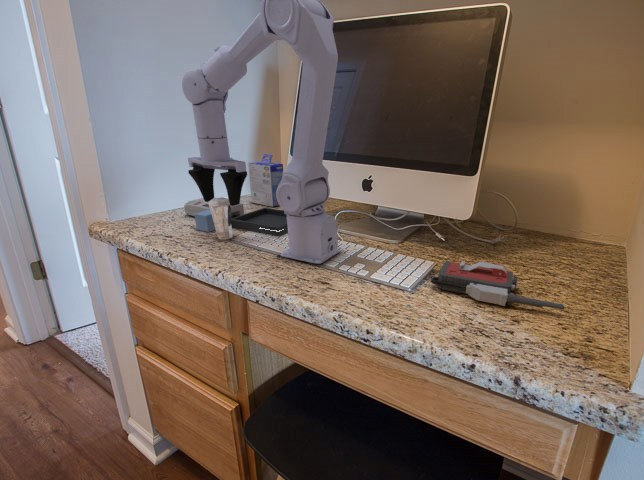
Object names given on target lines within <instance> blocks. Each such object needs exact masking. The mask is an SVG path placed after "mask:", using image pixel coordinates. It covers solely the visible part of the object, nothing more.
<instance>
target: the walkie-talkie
mask: <svg viewBox="0 0 644 480" xmlns="http://www.w3.org/2000/svg"><path fill="white" fill-rule="evenodd" d="M430 283H431V284H432V285H435V286H437V288H438V289H440V290H442V291H446V292H447V291H448V292H453V293H458V294H462V295H463V294H464V295H468V296H469V297H471V298H472V299H474V300H476V301H478V302H484V303H488V304H489V303H490V304H495V305H498V306H502V307H506V303H510V304H520V305H525V306H530V307H536V308H543V307H546V308H550V309H551V308H552V309H558V310H562V311H564V310H565V309H566V307H565V305H564V304H562V303H558V302H553V301H552V302H551V301H546V300H541V299H535V298H529V297H524V296H519V295H516V294H515V293H513V292H511V291H515V290H516V289H517V283H518V277H517V276H514V271H510V270H508V268H507V267H506V266H505V265H503V264H498V263H492V262H486V261H478V262H476V263H474V264H466V261H465V260H461V261H460V262H454V261H444V262H443V264H442V266H441V267H440V269H439V271H438V276H432V277H431V278H430Z"/></svg>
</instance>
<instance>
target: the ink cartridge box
mask: <svg viewBox="0 0 644 480" xmlns="http://www.w3.org/2000/svg"><path fill="white" fill-rule="evenodd" d="M261 158H262V159H261V161H252V162H248V163H247V166H248V177H249V189H250V199H251V200H250V201H251V203H252V204H258V205H262V206H267V207H272V208H274V207H278V206H279V207H280V205H279V204H278V201H277V197H276V191H277V187H278V185H279V184H280V182H281V180H282V174H283V171H284V163H280V162H279V163H278V162H277V163H276V162H272V159H273V154H269V153H268V154H266V153H264V154H263V156H262V157H261ZM268 158H269V159H268Z"/></svg>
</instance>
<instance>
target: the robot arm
mask: <svg viewBox="0 0 644 480" xmlns="http://www.w3.org/2000/svg"><path fill="white" fill-rule="evenodd" d="M334 23H335V18H334V17H333V15H332V14H331V12H330V10H328V8H327V6H326V5H325V4H324V3H323V1H321V0H260V4H259V12H258V13H257V15H256V16H255V17H254V18H253V20H252V21H251V22H250V23H249V25H247V27H246V28H245V29H244V30H243V32H242V33H241V34H240V36H238V38H237V39H236V41H235V42H234V43H233V44H232V45H231V46H229V45H221V46H219V45H217V46H216V47H215V49H214V53H213V55H211V56H210V57H209V59H207V60H206V61H205V62H203V63H202V64H200V68H197V69H196V70H195V69H188V70H186V71H185V72H184V73H185V74H184V75H183V77H182V80H181V87H182V93H183V94H184V97H185V98H186V100H187V101H189V103H190V104H191V107H192V112H193V113H192V114H193V119H194V125H195V131H196V137H197V143H198V148H199V155H200V156H192V157H191V156H190V157H188V158H187V162H188V166H189V168H192V169H189V170H188V175H189V176H190V177H191V178H192V180H193V181H194V183H195V184H196V185H197V188H198V189H199V191H200V193H201V196H202V198H204V200H205V202H208V201H210V200H212V199H213V198H215V188H214V177H215V170H220V171H223V172H220V173H219V176H220V178H221V179H222V181H223V183H224V186H225V189H226V192H227V199H228V200H229V203H230V205H231V206H235V205H238V204H240V203H241V197H242V196H241V195H242V190H243V186H244V183H245V181H246V178H247V176H248V171H247V163H246V161H244V160H238V159H234V158H233V157H231V155H230V147H229V141H228V140H229V139H228V132H227V126H226V118H225V113H226V111H227V107H226V103H227V100H228V96H229V91H230V90H231V89H232V88H233V87H234V86H235V85H236V84H237V83H238V82H239V81H240V80H242V79H243V78H244V77H245V76H246V74H247V71H248V66H247V64H248V63H250V62H251V61H252V60H253V59H254V58H256V57H257V56H258V55H260V53H262V52H263V51H265V50H266V49H267V48H268V47H270V46H271V45H272V44H273V43H274V42H277V41H284V42H285V43H286V44H288V45H289V46H290V47H291V48H292V49H293V51H294V52H295V54H296V55H297V57H298V59H299V60H300V61H301V63H302V68H301V75H300V76H301V77H300V85H299V94H298V104H297V113H296V121H295V130H294V132H295V133H294V140H293V149H292V156H291V157H292V158H291V160H290V161H289V163H288V164H287V166H286V167H285V168H283V174H282V180H281V182H280V184H279V185H278V187H277V191H276V197H277V201H278V204H279V207H280V208H281V210H284V214H287V227H288V232H287V237H288V238H287V240H288V249H287V250H285V251H283V252H281V253H280V254H279V256H280V257H282V258H287V259H292V260H297V261H301V262H306V263H310V264H315V265H321V264H322V263H325V262H326V261H327V260H329V259H331V258H332V257H333V256H335V255H336V254H339V253H340V252H341V250H340V249H339V246H338V245H339V244H338V243H339V242H338V241H339V240H338V222H337V219H336V217H335V216H334V215H332V214H329V213H327V212H325V207H326V206H325V203H326V202H327V201H328V200H329V197H330V192H331V188H330V184H329V173H330V172H329V171H328V169H327V167H326V166H324V163H323V160H324V154H325V148H326V141H327V135H328V128H329V122H330V115H331V108H332V103H333V101H332V100H333V95H334V89H335V82H336V75H337V68H338V62H339V54H338V48H337V45H336V39H335V36H334V31H333V29H334ZM337 249H338V250H337Z"/></svg>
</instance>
